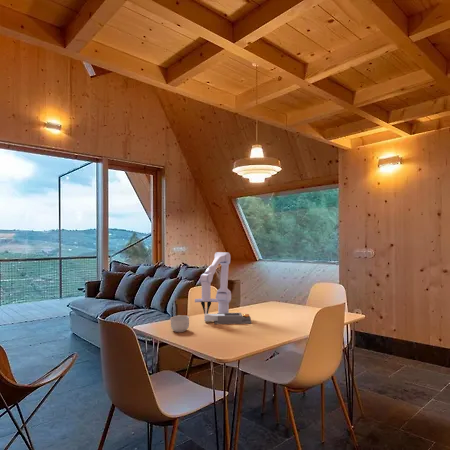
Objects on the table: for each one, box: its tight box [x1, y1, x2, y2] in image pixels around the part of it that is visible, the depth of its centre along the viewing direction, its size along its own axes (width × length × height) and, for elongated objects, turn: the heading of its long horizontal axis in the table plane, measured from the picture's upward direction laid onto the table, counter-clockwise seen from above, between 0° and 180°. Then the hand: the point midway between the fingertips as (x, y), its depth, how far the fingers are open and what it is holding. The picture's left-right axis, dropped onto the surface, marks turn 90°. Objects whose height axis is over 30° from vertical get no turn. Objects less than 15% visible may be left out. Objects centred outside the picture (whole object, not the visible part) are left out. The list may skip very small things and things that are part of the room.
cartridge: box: [203, 307, 225, 322], centre depth 238 cm, size 6×13×7 cm, turn 94°
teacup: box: [169, 314, 190, 333], centre depth 216 cm, size 14×11×8 cm
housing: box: [213, 312, 252, 325], centre depth 238 cm, size 12×23×5 cm, turn 94°
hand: (206, 313), depth 237 cm, fingers closed
